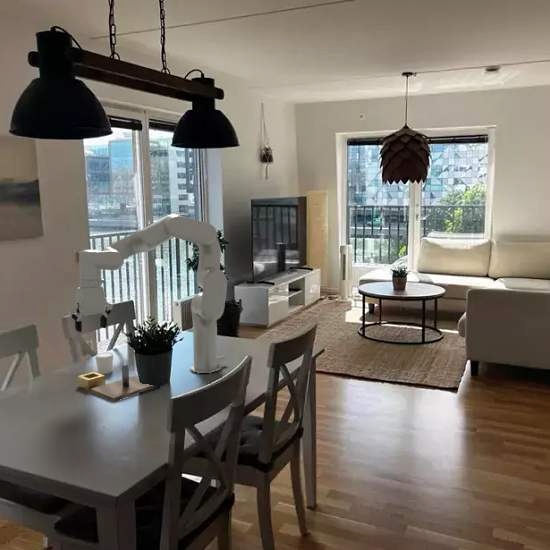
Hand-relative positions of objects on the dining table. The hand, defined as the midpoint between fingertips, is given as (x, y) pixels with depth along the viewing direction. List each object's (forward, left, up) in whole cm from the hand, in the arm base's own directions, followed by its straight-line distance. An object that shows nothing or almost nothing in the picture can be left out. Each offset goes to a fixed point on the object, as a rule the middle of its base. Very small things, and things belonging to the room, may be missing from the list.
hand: (91, 329), depth 209 cm
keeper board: (-5, +13, -21) cm, 26 cm away
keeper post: (-5, +13, -20) cm, 25 cm away
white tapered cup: (-12, -11, -22) cm, 27 cm away
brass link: (+1, 0, -22) cm, 22 cm away
